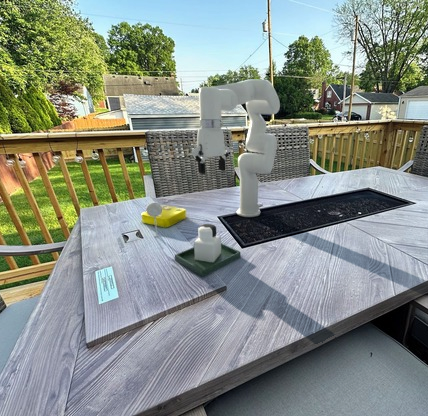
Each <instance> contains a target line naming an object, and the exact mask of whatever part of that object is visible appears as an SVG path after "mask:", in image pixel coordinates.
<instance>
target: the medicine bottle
mask: <svg viewBox="0 0 428 416" xmlns="http://www.w3.org/2000/svg"><path fill="white" fill-rule="evenodd" d="M197 230H198V231H197V232H198V238H197V239H195V240H194V242H193V247H194V254H195V260H199V261H205V262H211V263H214V262H215V260H216V259H217V258H218V257H219V255H220V254H221V243H222V236H221V235H217V226H216V225H214V224H211V223H205V224H204V223H203V224H201V225H199V226H198V228H197Z"/></svg>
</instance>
